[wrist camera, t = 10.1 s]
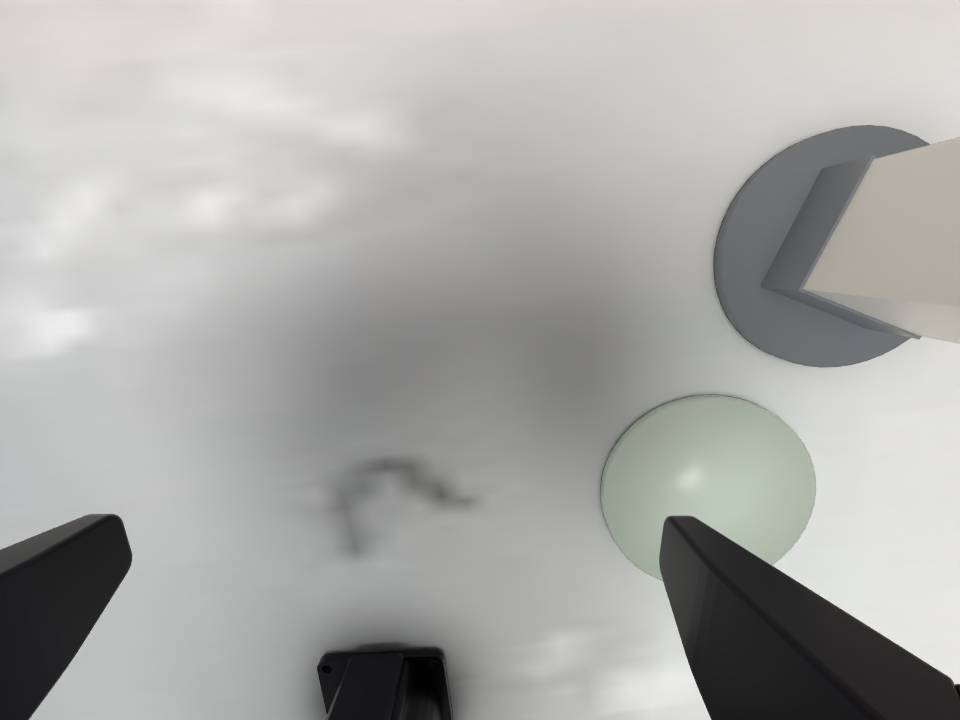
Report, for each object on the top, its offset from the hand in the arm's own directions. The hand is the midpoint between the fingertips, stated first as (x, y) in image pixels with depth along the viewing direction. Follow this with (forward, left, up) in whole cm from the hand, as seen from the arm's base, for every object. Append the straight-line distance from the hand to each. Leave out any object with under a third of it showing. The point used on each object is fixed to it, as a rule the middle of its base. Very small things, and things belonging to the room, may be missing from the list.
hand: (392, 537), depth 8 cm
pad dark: (+3, -15, -13) cm, 20 cm away
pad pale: (-7, -10, -13) cm, 18 cm away
